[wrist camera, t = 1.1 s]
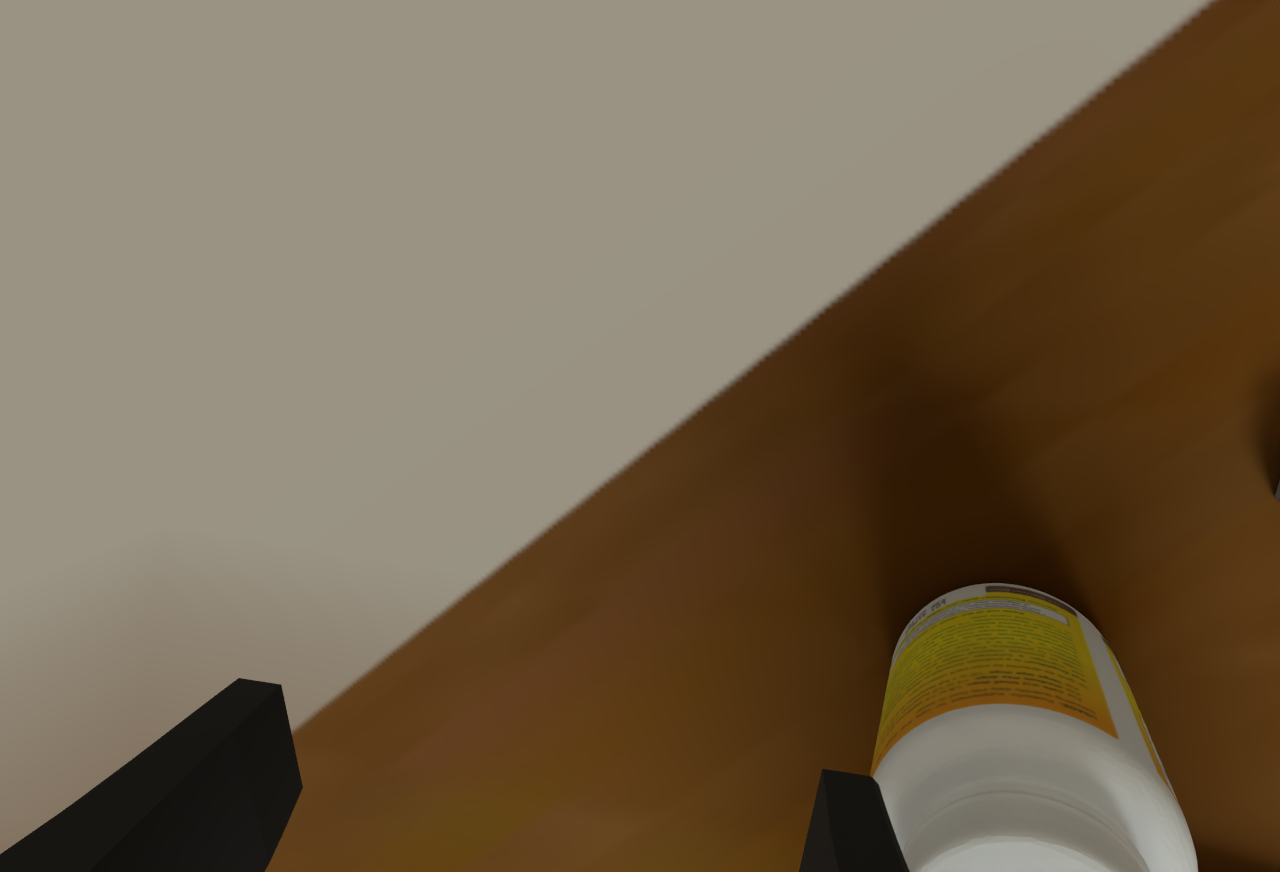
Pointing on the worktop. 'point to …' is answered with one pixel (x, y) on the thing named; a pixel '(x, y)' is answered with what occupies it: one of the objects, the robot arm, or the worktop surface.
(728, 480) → the worktop surface
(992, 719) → the supplement bottle
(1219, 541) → the worktop surface
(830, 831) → the robot arm
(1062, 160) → the worktop surface
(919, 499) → the worktop surface
